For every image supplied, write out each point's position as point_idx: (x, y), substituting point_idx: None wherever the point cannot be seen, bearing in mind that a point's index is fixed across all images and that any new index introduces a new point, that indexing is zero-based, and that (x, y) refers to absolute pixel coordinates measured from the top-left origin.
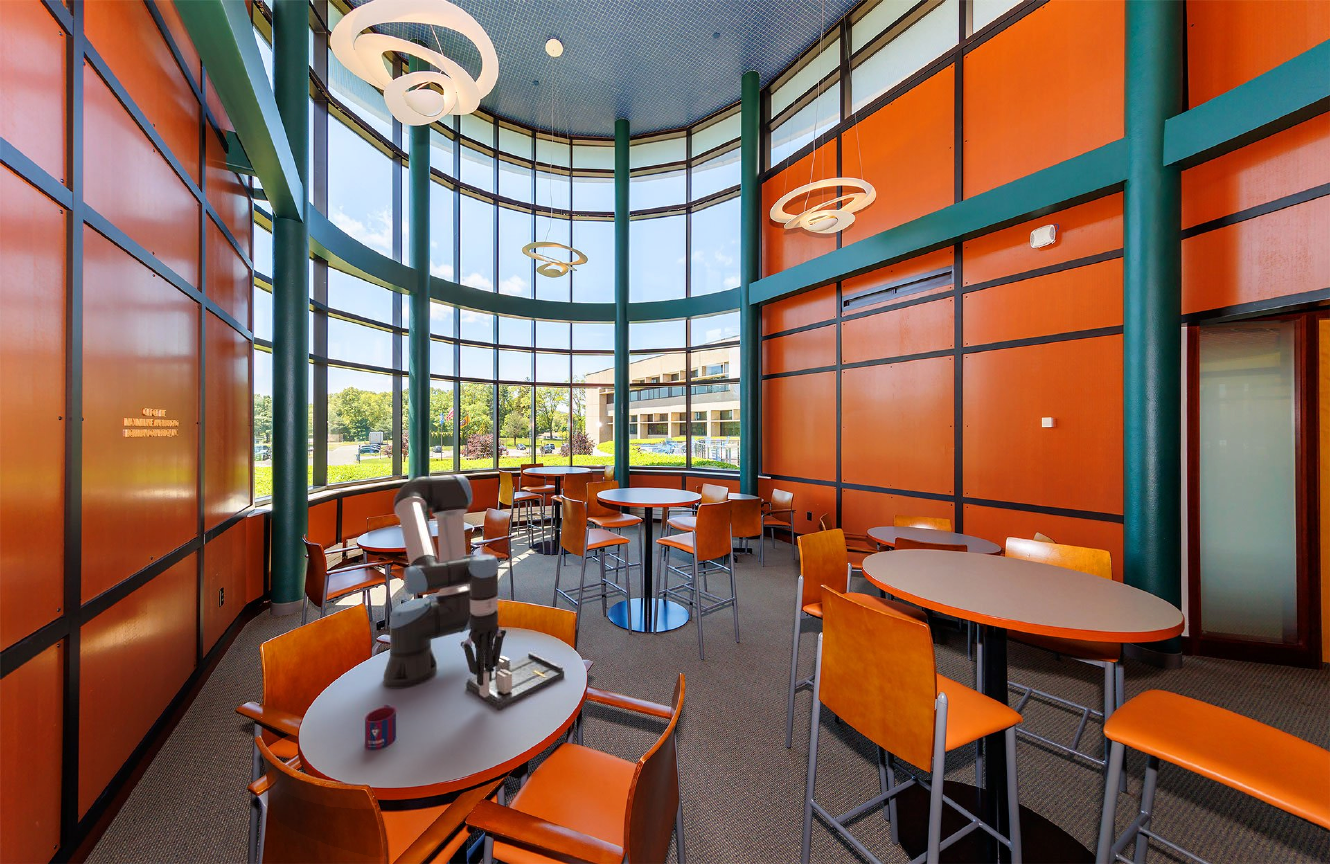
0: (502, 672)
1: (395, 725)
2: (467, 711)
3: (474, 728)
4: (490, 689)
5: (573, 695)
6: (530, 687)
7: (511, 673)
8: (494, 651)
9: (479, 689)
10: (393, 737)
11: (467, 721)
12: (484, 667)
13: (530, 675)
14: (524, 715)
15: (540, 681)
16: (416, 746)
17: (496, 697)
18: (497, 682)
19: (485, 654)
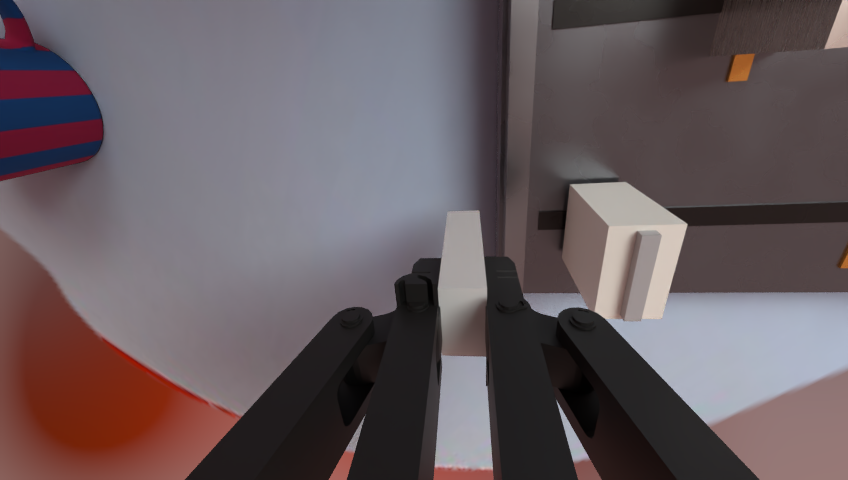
0: (629, 265)
1: (42, 147)
2: (395, 175)
3: (370, 302)
4: (555, 136)
5: (754, 401)
6: (694, 290)
7: (656, 317)
8: (636, 475)
9: (446, 222)
10: (83, 153)
11: (367, 245)
12: (487, 304)
13: (832, 177)
14: None
15: (780, 281)
16: (181, 246)
17: None
18: (582, 207)
19: (496, 454)
